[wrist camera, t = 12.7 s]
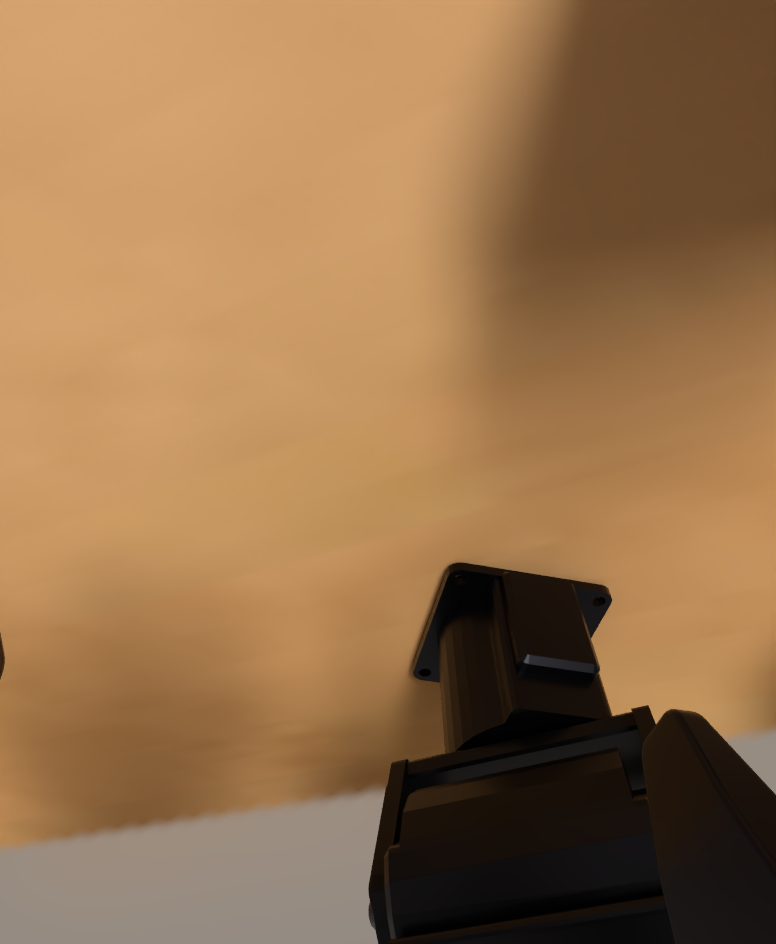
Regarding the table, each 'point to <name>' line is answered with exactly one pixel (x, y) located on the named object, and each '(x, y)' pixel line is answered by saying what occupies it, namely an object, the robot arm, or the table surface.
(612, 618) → the table surface
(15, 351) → the table surface
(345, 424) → the table surface
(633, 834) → the robot arm
